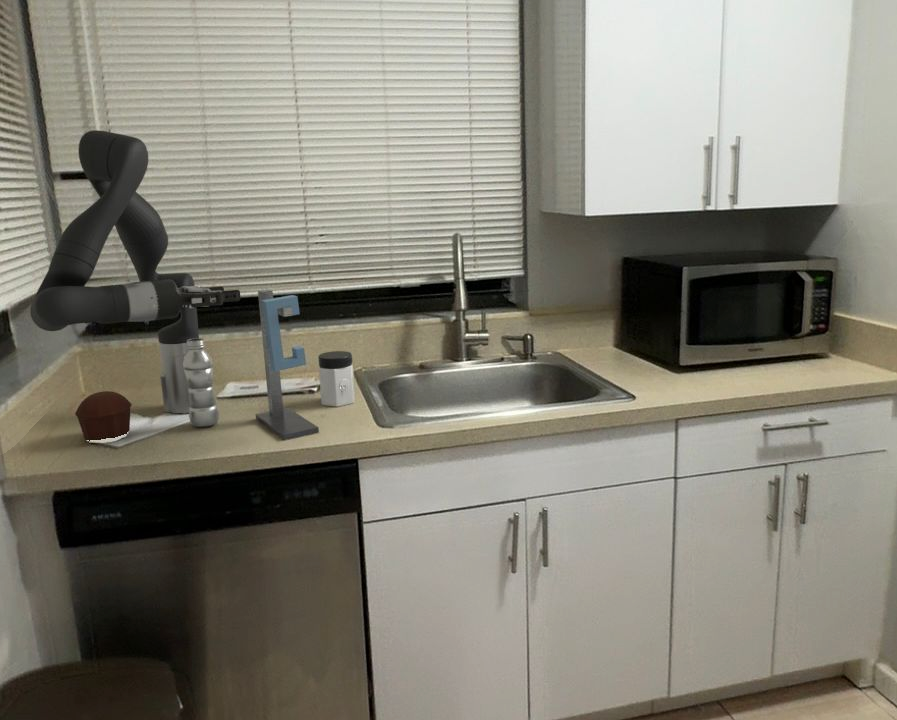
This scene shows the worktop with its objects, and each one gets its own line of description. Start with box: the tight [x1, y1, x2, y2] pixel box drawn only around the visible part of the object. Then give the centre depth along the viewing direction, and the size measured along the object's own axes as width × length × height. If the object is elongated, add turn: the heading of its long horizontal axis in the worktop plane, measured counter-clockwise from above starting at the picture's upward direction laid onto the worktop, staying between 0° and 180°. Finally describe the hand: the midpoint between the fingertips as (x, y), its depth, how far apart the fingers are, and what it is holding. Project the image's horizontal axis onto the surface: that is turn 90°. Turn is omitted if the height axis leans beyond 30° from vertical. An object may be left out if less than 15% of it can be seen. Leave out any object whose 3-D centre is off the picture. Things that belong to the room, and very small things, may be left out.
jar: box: [318, 350, 356, 408], centre depth 186 cm, size 9×8×12 cm
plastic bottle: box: [183, 337, 220, 428], centre depth 170 cm, size 6×7×20 cm
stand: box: [255, 289, 320, 441], centre depth 167 cm, size 8×18×30 cm, turn 33°
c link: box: [261, 294, 307, 372], centre depth 161 cm, size 7×3×15 cm, turn 123°
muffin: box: [74, 390, 132, 441], centre depth 166 cm, size 12×11×10 cm
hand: (231, 293), depth 154 cm, fingers open, 8 cm apart
